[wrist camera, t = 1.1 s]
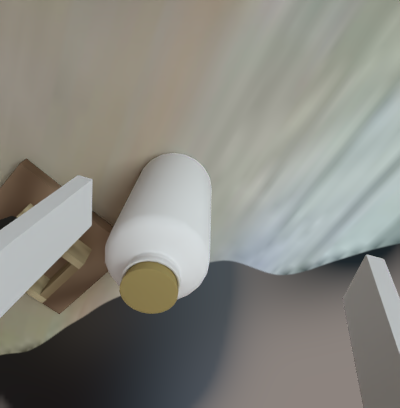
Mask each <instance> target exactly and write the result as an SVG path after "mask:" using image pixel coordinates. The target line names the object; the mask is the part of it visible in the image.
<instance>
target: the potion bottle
mask: <svg viewBox="0 0 400 408" xmlns="http://www.w3.org/2000/svg"><path fill="white" fill-rule="evenodd" d="M211 191H212V187H211V182H210V177H209V175H208V174H207V172H206V170H205V168H204V167H203V166H202V165H201V164H200V163H199V162H198V161H197V160H196V159H194V158H191V157H189V156H187V155H185V154H178V153H168V154H162V155H160V156H158V157H156V158H154V159H152V160H151V161H150V162H149V163H148V164H147V165H146V166H145V167H144V168H143V170H142V172H141V174H140V176H139V178H138V180H137V182H136V183H135V185H134V187H133V189H132V191H131V193H130V195H129V197H128V199H127V201H126V203H125V205H124V207H123V209H122V211H121V213H120V215H119V217H118V219H117V221H116V223H115V225H114V227H113V228H112V230H111V233H110V235H109V237H108V240H107V242H106V245H105V263H106V266H107V268H108V271H109V274H110V275H111V277H112V278H113V279H114V280H115V282H116V283H117V284H118V285H119V286H120V294H121V297H122V299H123V300H124V301H125V302H126V304H127V305H129V306H130V307H132V308H133V309H134V310H137V311H140V312H143V313H151V314H152V313H160V312H163V311H166V310H168V309H169V308H171V307H172V306H173V305H174V304H175V302H176V300H177V299H179V298H181V297H184V296H186V295H188V294H190V293H191V292H192V291H194V290H195V289H196V288H197V287H198V286H200V284H201V282H202V281H203V279H204V278H205V276H206V274H207V271H208V266H209V260H210V233H211Z"/></svg>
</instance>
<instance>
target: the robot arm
mask: <svg viewBox="0 0 400 408" xmlns="http://www.w3.org/2000/svg"><path fill="white" fill-rule="evenodd" d="M91 226H92V179H90V178H86V177H83V176H79V175H78V176H76V177H75V178H73V179H72V180H70V181H69V182H68V183H66V184H65V185H63V186H62V187H61V188H59V189H58V190H56V191H55V192H53V193H52V194H51V195H49V196H48V197H46V198H45V199H44V200H42V201H41V202H39V203H38V204H36V205H35V206H34V207H32V208H31V209H29V210H28V211H27V212H25V213H24V214H22V215H21V216H19V217H14V216H9V217H7V218H4V219H1V220H0V318H1V317H2V316H3V315H4V314H5V313H6V312H7V311H8V310H9V308H10V307H11V306H12V305H13V304H14V303H15V302H16V301H17V300H18V299H19V298H20V297H21V296H22V295H23V294H24V293H25V292H26V291H27V290H28V289H29V288H30V287H31V286H32V285H33V284H34V283H35V282H36V281H37V280H38V279H39V278H40V277H41V276H42V275H43V274H44V273H45V272H46V271H47V270H48V269H49V268H50V267H51V266H52V265H53V264H54V263H55V262H56V261H57V260H58V259H59V258H60V257H61V256H62V255H63V254H64V253H65V252H66V251H67V250H68V249H69V248H70V247H71V246H72V245H73V244H74V243H75V242H76V241H77V240H78V239H79V238H80V237H81V236H82V235H83V234H84V233H85V232H86V231H87V230H88V229H89V228H90V227H91ZM343 304H344V309H345V315H346V319H347V324H348V330H349V335H350V340H351V346H352V351H353V356H354V361H355V367H356V372H357V376H358V382H359V387H360V392H361V397H362V403H363V408H400V298H399V295H398V293H397V290H396V288H395V285H394V283H393V280H392V278H391V275H390V273H389V270H388V268H387V266H386V263H385V261H384V259H381V258H378V257H374V256H370V255H366V256H365V258H364V260H363V262H362V263H361V265H360V267H359V269H358V271H357V273H356V275H355V276H354V278H353V280H352V282H351V284H350V286H349V288H348V289H347V291H346V293H345V295H344V297H343Z"/></svg>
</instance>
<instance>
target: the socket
mask: <svg viewBox="0 0 400 408" xmlns="http://www.w3.org/2000/svg"><path fill="white" fill-rule="evenodd" d="M61 187H62V186H60V185H59V184H58V183H57V182H55V181H54V180H53V179H52V178H50V177H49V176H48V175H47V174H45V173H44V172H43V171H41V170H40V169H39V168H38V167H36V166H35V165H34V164H33V163H31V162H30V161H29V160H28V159H26V160H24V161H23V162H21V163H20V164H19V165H18V167H17V168H16V169H15V170H14V172H13V173H12V174H11V175H10V177H9V178H8V179H7V180H6V182H5V183H4V184H3V185H2V187H1V188H0V220H1V219H4V218H7V217H9V216H14V217H19V216H21V215H22V214H24V213H25V212H27V211H28V210H29V209H31V208H32V207H34V206H35V205H36V204H38V203H39V202H41V201H42V200H44V199H45V198H46V197H48V196H49V195H51V194H52V193H53V192H55V191H56V190H58V189H59V188H61ZM112 228H113V227H112V226H111V225H110V224H108V223H107V222H106V221H105V220H103V219H102V218H101V217H100V216H98V215H97V214H96V213H95V212H93V211H92V226H91V227H90V228H89V229H88V230H87V231H86V232H85V233H84V234H83V235H82V236H81V237H80V238H79V239H78V240H77V241H76V242H75V243H74V244H73V245H72V246H71V247H70V248H69V249H68V250H67V251H66V252H65V253H64V254H63V255H62V256H61V257H60V258H59V259H58V260H57V261H56V262H55V263H54V264H53V265H52V266H51V267H50V268H49V269H48V270H47V271H46V272H45V273H44V274H43V275H42V276H41V277H40V278H39V279H38V280H37V281H36V282H35V283H34V284H33V285H32V286H31V287H30V288H29V289H28V290H27V291H26V292H25V293H27V294H29V295H30V296H32V297H33V298H35V299H36V300H38V301H39V302H41V303H43V304H45V305H46V306H48V307H49V308H51V309H52V310H54V311H55V312H57V313H58V314H60V313H61V312H62V311H64V310H65V309H66V308H67V307H68V306H69V305H70V304H71V303H73V302H74V301H75V300H76V299H77V298H78V297H79V296H81V295H82V294H83V293H84V292H85V291H86V290H87V289H88V288H90V287H91V286H92V285H93V284H94V283H95V282H96V281H98V280H99V279H100V278H101V277H102V276H103V275H104V274H105V273H107V272H108V268H107V266H106V263H105V245H106V242H107V240H108V237H109V235H110V233H111V230H112Z"/></svg>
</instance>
